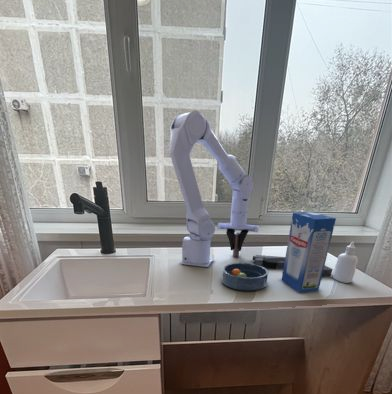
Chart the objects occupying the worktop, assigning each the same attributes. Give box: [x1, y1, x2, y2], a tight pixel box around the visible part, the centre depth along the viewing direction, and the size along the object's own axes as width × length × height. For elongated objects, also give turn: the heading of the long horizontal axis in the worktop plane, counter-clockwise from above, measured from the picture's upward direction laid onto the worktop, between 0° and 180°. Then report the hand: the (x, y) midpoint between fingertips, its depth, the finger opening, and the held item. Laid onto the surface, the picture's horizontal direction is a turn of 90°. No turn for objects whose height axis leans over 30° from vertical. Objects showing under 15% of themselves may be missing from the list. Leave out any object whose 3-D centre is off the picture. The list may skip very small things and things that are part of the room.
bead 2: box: [237, 273, 247, 277], centre depth 84 cm, size 3×3×3 cm
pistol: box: [252, 254, 333, 277], centre depth 98 cm, size 2×26×15 cm
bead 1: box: [231, 269, 241, 276], centre depth 87 cm, size 3×3×3 cm
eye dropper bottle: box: [332, 241, 359, 284], centre depth 87 cm, size 4×6×12 cm
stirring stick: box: [232, 231, 240, 258], centre depth 107 cm, size 2×2×9 cm
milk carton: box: [281, 211, 337, 294], centre depth 81 cm, size 10×6×20 cm, turn 16°
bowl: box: [221, 262, 269, 292], centre depth 85 cm, size 13×13×4 cm
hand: (235, 250), depth 107 cm, fingers closed on stirring stick, 2 cm apart
